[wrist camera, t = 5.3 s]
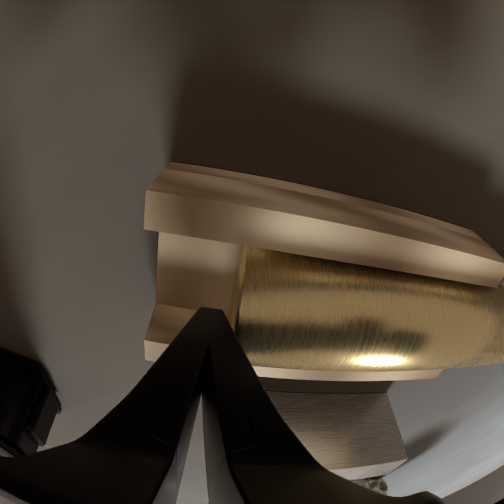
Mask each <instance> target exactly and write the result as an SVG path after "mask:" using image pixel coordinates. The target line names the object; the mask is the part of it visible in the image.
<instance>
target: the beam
mask: <svg viewBox="0 0 504 504" xmlns="http://www.w3.org/2000/svg"><path fill="white" fill-rule="evenodd" d="M144 229H145V230H151V231H157V232H159V240H158V258H157V285H156V305H155V308H154V311H153V314H152V317H151V320H150V323H149V326H148V330H147V333H146V336H145V339H144V346H145V360H148V361H153V362H156V360H157V359H158V358H159V357H160V355H161V354H162V353H163V352H164V351H165V349H166V348H167V347H168V346H169V344H170V343H171V342H172V341H173V339H174V338H175V337H176V336H177V335H178V333H179V332H180V331H181V330H182V328H183V327H184V326H185V325H186V323H187V322H188V321H189V320H190V319H191V317H192V316H193V315H194V314H195V312H196V311H197V310H198V309H199V308H200V307H209V308H216V309H222V310H223V311H224V313H225V315H226V317H227V319H228V321H229V316H230V308H231V301H232V294H233V287H234V281H235V276H236V270H237V265H238V261H239V257H240V253H241V250H242V247H243V245H244V246H250V247H256V248H263V249H269V250H275V251H281V252H287V253H293V254H299V255H305V256H311V257H317V258H323V259H329V260H335V261H341V262H347V263H353V264H359V265H365V266H371V267H377V268H383V269H389V270H395V271H401V272H407V273H412V274H418V275H424V276H430V277H436V278H442V279H448V280H453V281H459V282H465V283H471V284H477V285H482V286H488V287H494V288H498V286H499V284H500V283H501V281H502V279H503V277H504V259H503V258H502V257H501V256H500V255H499V254H498V253H497V252H496V251H495V250H494V249H493V248H491V247H490V246H489V245H488V244H487V243H486V242H485V241H484V240H483V239H481V238H480V237H479V236H478V235H477V234H476V233H474V232H473V231H472V230H469V229H466V228H463V227H460V226H457V225H454V224H451V223H447V222H444V221H441V220H438V219H434V218H431V217H428V216H424V215H421V214H417V213H414V212H410V211H407V210H403V209H400V208H396V207H392V206H389V205H385V204H381V203H377V202H373V201H370V200H366V199H362V198H358V197H354V196H349V195H345V194H341V193H337V192H333V191H328V190H324V189H319V188H315V187H310V186H306V185H301V184H296V183H291V182H287V181H282V180H277V179H272V178H266V177H261V176H256V175H250V174H245V173H239V172H233V171H227V170H221V169H215V168H209V167H203V166H196V165H189V164H182V163H175V162H170V163H169V165H168V166H167V167H166V168H165V169H164V170H163V171H162V172H161V173H160V175H159V176H158V177H157V178H156V179H155V180H154V181H153V183H152V184H151V185H150V186H149V187H148V188H147V190H146V197H145V214H144ZM253 368H254V370H255V372H256V374H257V376H259V377H271V378H284V379H300V380H323V381H393V380H415V379H430V378H436V377H437V376H438V375H439V373H440V372H441V371H442V370H443V369H433V370H415V371H380V372H355V371H318V370H299V369H283V368H271V367H259V366H253Z"/></svg>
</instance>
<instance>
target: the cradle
mask: <svg viewBox="0 0 504 504" xmlns="http://www.w3.org/2000/svg"><path fill="white" fill-rule="evenodd" d="M266 392H267V394H268V395H269V397H270V399H271V401H272V402H273V404H274V406H275V407H276V409H277V410H278V412H279V413H280V415H281V416H282V418H283V419H284V420H285V422H286V423H287V424H288V426H289V427H290V428H291V430H292V431H293V432H294V434H295V435H296V436H297V437H298V439H299V440H300V441H301V442H302V444H303V445H304V446H305V447H306V449H307V450H308V451H309V452H310V453H311V455H312V456H313V457H314V458H315V459H316V460H317V461H318V462H319V463H320V464H321V465H322V466H323V467H325V468H326V469H328V470H329V471H331V472H333V473H335V474H337V475H339V476H341V477H343V478H345V479H348V480H350V481H352V482H354V483H356V484H359V485H361V486H363V487H365V488H367V486H366V481H365V478H368V477H374V476H380V475H385V474H389V473H390V472H391V471H393V470H394V469H396V468H397V467H398V466H400V465H401V464H402V463H404V462H405V461H406V460H408V456H407V453H406V450H405V447H404V443H403V440H402V437H401V434H400V431H399V428H398V425H397V422H396V419H395V416H394V413H393V410H392V407H391V405H390V402H389V399H388V396H387V393H368V394H312V393H288V392H272V391H266Z"/></svg>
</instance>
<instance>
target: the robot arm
mask: <svg viewBox="0 0 504 504" xmlns="http://www.w3.org/2000/svg"><path fill="white" fill-rule="evenodd" d="M201 393H202V414H203V432H204V448H205V463H206V476H207V488H208V498H209V504H446V503H445V502H444V501H443V500H442V499H441V498H439V497H438V496H436V495H434V494H432V493H430V492H428V491H424V492H419V493H416V494H412V495H409V496H404V497H392V496H386V495H383V494H380V493H377V492H375V491H373V490H370V489H368V488H365V487H363V486H361V485H359V484H356V483H354V482H352V481H350V480H348V479H345V478H343V477H341V476H339V475H337V474H335V473H333V472H331V471H329V470H328V469H326V468H325V467H323V466H322V465H321V464H320V463H319V462H318V461H317V460H316V459H315V458H314V457H313V456H312V455H311V453H310V452H309V451H308V450H307V449H306V447H305V446H304V445H303V444H302V442H301V441H300V440H299V439H298V437H297V436H296V435H295V434H294V432H293V431H292V430H291V428H290V427H289V426H288V424H287V423H286V422H285V420H284V419H283V418H282V416H281V415H280V413H279V412H278V410H277V409H276V407H275V406H274V404H273V402H272V401H271V399H270V397H269V395H268V394H267V392H266V390H265V389H264V387H263V385H262V383H261V381H260V379H259V377H258V376H257V374H256V372H255V370H254V368H253V366H252V365H251V363H250V361H249V359H248V357H247V355H246V353H245V352H244V350H243V348H242V346H241V344H240V342H239V340H238V338H237V336H236V334H235V333H234V331H233V329H232V327H231V325H230V323H229V321H228V319H227V317H226V315H225V313H224V311H223V310H222V309H216V308H209V307H200V308H199V309H198V310H197V311H196V312H195V314H194V315H193V316H192V317H191V319H190V320H189V321H188V322H187V323H186V325H185V326H184V327H183V328H182V330H181V331H180V332H179V333H178V335H177V336H176V337H175V338H174V339H173V341H172V342H171V343H170V344H169V346H168V347H167V348H166V349H165V351H164V352H163V353H162V354H161V355H160V357H159V358H158V359H157V360H156V362H155V363H154V364H153V365H152V367H151V368H150V369H149V370H148V372H147V374H145V375H144V376H143V378H142V379H141V380H140V381H139V382H138V384H137V385H136V386H135V387H134V388H133V389H132V390H131V392H130V393H129V394H128V395H127V396H126V397H125V398H124V399H123V400H122V401H121V402H120V403H119V404H118V405H117V406H116V407H115V408H113V409H112V410H111V411H110V412H109V413H108V414H107V415H106V416H105V417H104V418H102V419H101V420H100V421H99V422H98V423H97V424H96V425H95V426H94V427H93V428H91V429H90V430H89V431H88V432H87V433H86V434H84V435H83V436H82V437H80V438H78V439H77V440H75V441H72V442H70V443H67V444H64V445H60V446H57V447H53V448H50V449H46V450H43V451H39V452H37V449H38V447H39V446H42V447H43V446H44V445H45V444H46V441H47V438H48V435H49V432H50V429H51V427H52V424H53V421H54V418H55V416H56V413H58V414H60V412H61V410H62V408H61V406H60V404H59V402H58V400H57V398H56V396H55V394H54V392H53V390H52V388H51V386H50V384H49V382H48V379H47V377H46V375H45V373H44V370H43V368H42V367H41V366H40V365H39V364H38V363H36V362H34V361H31V360H28V359H25V358H23V357H20V356H18V355H15V354H12V353H10V352H7V351H5V350H3V349H0V504H176V500H177V495H178V491H179V487H180V483H181V478H182V474H183V469H184V465H185V461H186V456H187V452H188V448H189V444H190V439H191V435H192V431H193V427H194V422H195V418H196V414H197V410H198V405H199V401H200V397H201ZM494 504H504V498H502V499H501V500H499V501H497V502H495V503H494Z"/></svg>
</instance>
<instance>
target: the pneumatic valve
mask: <svg viewBox="0 0 504 504" xmlns="http://www.w3.org/2000/svg"><path fill="white" fill-rule="evenodd" d="M365 481H366V486H367V488H368V489H370V490H373V491H375V492H377V493H380V494H383V495H386V496H387V494H386V493H387V490H388V486H387V483H386V482H385V481H384V479H380V478H379V479H377V480H372V479H367V480H365Z"/></svg>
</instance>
